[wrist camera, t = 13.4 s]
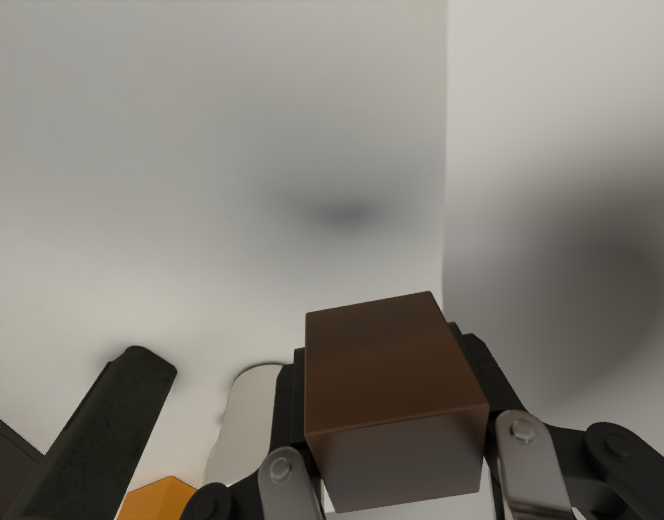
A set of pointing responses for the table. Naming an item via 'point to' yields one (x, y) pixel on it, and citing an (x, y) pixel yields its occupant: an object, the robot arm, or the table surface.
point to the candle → (99, 443)
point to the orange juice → (157, 501)
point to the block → (391, 404)
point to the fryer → (14, 466)
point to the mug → (244, 427)
